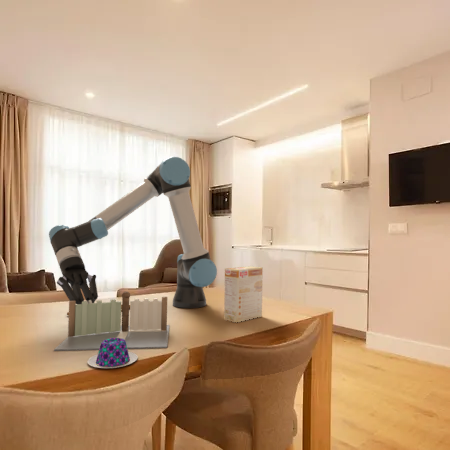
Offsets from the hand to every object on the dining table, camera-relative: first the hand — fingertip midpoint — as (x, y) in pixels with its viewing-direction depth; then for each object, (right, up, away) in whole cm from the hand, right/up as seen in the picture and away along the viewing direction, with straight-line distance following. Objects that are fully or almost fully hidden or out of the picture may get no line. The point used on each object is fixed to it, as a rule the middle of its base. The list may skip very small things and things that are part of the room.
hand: (92, 319), depth 107 cm
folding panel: (+1, -4, -2) cm, 4 cm away
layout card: (+9, -5, -2) cm, 10 cm away
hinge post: (+9, -5, +3) cm, 11 cm away
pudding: (+14, -5, -22) cm, 26 cm away
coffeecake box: (+49, -6, +24) cm, 55 cm away
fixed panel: (+17, -5, +4) cm, 18 cm away
